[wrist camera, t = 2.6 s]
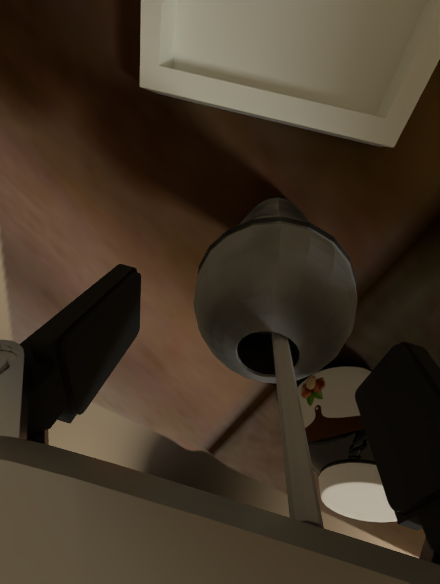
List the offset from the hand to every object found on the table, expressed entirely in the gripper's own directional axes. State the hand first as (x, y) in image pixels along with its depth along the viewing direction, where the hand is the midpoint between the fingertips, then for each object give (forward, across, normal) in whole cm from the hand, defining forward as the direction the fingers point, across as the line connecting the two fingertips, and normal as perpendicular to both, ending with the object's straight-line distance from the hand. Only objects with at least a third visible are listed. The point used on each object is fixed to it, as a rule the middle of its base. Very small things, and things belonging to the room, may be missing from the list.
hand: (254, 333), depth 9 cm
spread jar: (+14, -15, +18) cm, 27 cm away
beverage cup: (+15, -1, 0) cm, 15 cm away
